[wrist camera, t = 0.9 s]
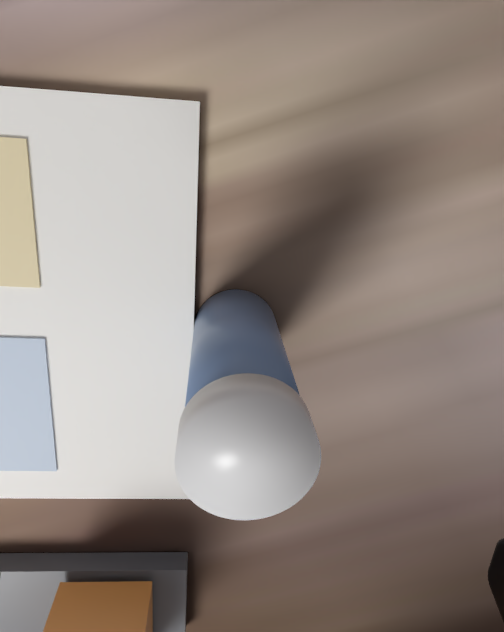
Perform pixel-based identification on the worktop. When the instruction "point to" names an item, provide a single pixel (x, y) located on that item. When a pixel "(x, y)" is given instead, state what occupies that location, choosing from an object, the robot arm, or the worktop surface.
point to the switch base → (52, 568)
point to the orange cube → (102, 607)
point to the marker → (243, 415)
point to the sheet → (95, 291)
